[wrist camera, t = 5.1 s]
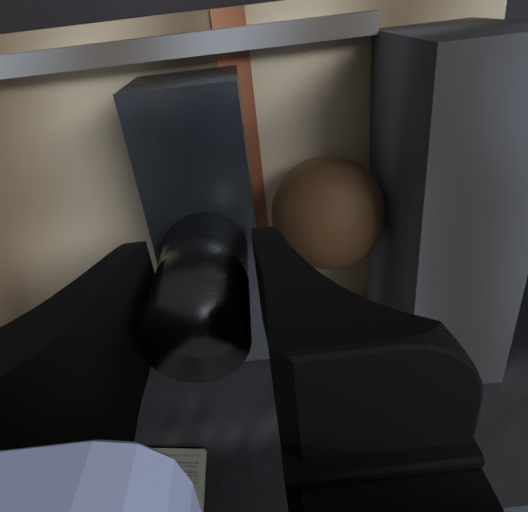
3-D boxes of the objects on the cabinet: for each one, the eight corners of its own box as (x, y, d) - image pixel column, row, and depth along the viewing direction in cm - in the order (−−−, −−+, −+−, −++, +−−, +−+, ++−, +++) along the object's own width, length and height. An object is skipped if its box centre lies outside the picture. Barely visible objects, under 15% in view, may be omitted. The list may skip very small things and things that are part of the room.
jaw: (236, 64, 13) (237, 117, 7) (266, 306, 18) (282, 464, 12) (137, 76, 13) (52, 140, 7) (192, 314, 18) (169, 477, 12)
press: (477, -23, 14) (654, -42, 8) (441, 281, 20) (527, 400, 14) (-99, 45, 14) (-341, 77, 8) (34, 329, 20) (-51, 466, 14)
